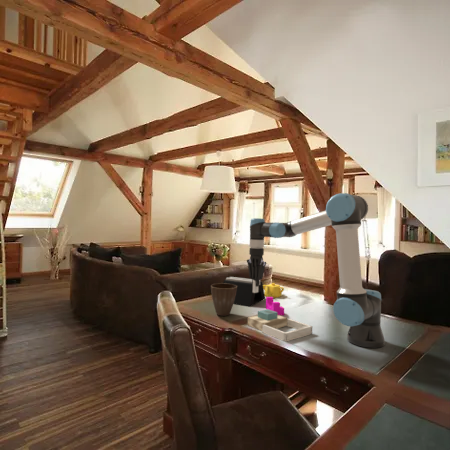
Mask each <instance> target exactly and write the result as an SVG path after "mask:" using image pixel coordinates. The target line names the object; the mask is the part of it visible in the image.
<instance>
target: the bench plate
mask: <svg viewBox="0 0 450 450" xmlns="http://www.w3.org/2000/svg"><path fill="white" fill-rule="evenodd" d="M287 319H288V317H285V316H283V315H278V316H277V319H272V320H268V321H267V320H264V319H262V318H259V317H258V314H256V315H253V316H248V317H247V326H249V327H251V328H254V329H256V330H259V331H261V332H262V328H263V325H267V326H270V327H272V328H275V329H281V328H284V327H288V326H287Z"/></svg>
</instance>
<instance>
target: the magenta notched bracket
mask: <svg viewBox="0 0 450 450" xmlns="http://www.w3.org/2000/svg"><path fill="white" fill-rule="evenodd" d="M266 309H269V310H272V311H275V312H278V315H279V316H285V307H283V306H281V302H279V301H274V298H273V297H265V310H266Z"/></svg>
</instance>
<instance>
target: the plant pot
mask: <svg viewBox="0 0 450 450" xmlns="http://www.w3.org/2000/svg"><path fill="white" fill-rule="evenodd" d="M210 291H211V298H212V299H211V300H212V302H213V303H212V304H213V306H214V310H215V313H216V314H217V316H221V317H223V316H229V315H230V314H231V311H232V309H233V306H234V304H233V303H234V300H235V296H236V291H237V286H236V285H234V284H226V283H223V282H221V283H220V282H219V283H213V284H211V285H210Z"/></svg>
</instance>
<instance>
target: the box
mask: <svg viewBox="0 0 450 450" xmlns="http://www.w3.org/2000/svg"><path fill="white" fill-rule="evenodd" d="M286 327H289V328H291V329H293V330H290V331H286V332H285V331H282V330H280V329H279V328H277V329H275V328H272V327H270V326H267V325H263V328H262V331H261V332H262V333H263V334H266V335H268V336H271V337H272V338H273V337H274V338H275V339H278V340H280V341H282V342H285V343H286V342H289V341H292V340H296V339H300V338H303V337H305V336H309V335H312V334H313V326H312V325H310V324H308V323H307V324H306V323H303V322H301V321H297V320H294V319H291V318H287V326H286Z"/></svg>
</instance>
